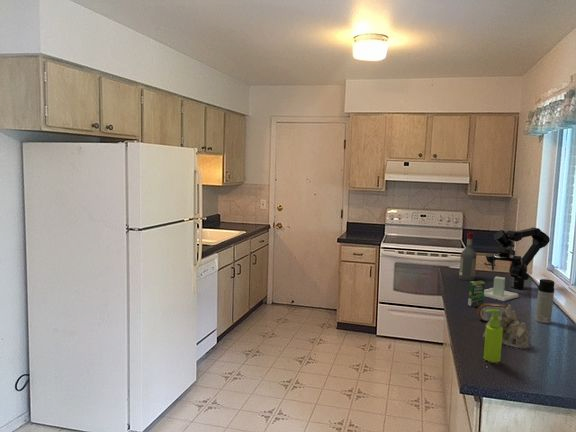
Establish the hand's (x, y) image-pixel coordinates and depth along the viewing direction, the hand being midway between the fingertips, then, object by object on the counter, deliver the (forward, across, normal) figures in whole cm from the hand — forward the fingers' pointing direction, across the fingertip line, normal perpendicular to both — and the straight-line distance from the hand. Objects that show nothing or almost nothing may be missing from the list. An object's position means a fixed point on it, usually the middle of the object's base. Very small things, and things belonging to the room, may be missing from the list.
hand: (501, 271), depth 276 cm
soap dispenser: (+81, +21, -65) cm, 106 cm away
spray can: (+36, +28, -16) cm, 48 cm away
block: (+12, 0, +6) cm, 14 cm away
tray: (+12, 0, +6) cm, 14 cm away
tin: (+46, +10, -29) cm, 55 cm away
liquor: (-8, -27, +26) cm, 38 cm away
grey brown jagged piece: (+63, +20, -46) cm, 81 cm away
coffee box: (+32, -5, -15) cm, 36 cm away
